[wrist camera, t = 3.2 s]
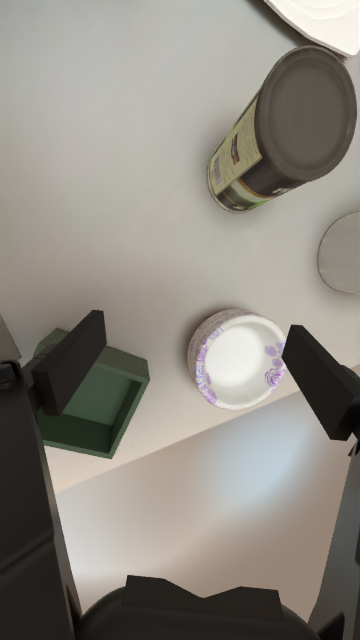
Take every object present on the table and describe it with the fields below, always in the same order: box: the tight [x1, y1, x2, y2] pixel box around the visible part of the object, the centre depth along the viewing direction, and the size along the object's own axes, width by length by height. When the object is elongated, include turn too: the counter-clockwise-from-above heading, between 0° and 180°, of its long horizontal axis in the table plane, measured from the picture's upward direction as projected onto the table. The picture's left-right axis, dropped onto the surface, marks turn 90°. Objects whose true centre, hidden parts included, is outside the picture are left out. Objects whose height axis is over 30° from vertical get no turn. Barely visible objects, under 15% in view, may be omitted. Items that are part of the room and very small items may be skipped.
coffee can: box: [207, 45, 357, 213], centre depth 27 cm, size 10×10×14 cm
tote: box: [33, 328, 150, 459], centre depth 33 cm, size 15×14×7 cm
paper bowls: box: [187, 309, 286, 410], centre depth 36 cm, size 15×15×8 cm
